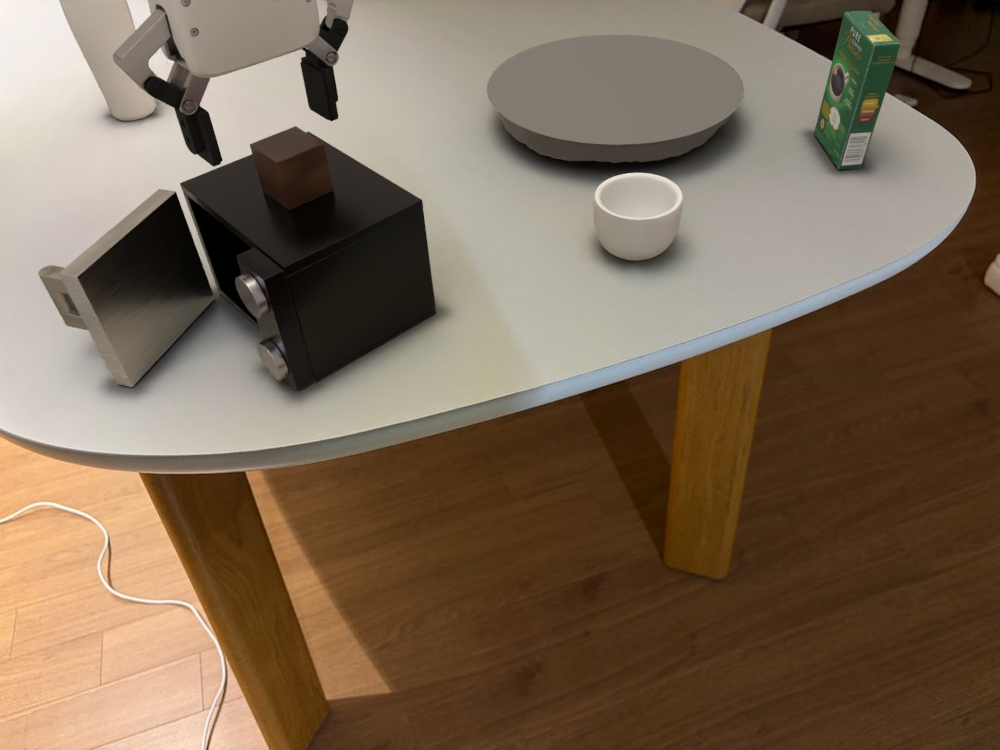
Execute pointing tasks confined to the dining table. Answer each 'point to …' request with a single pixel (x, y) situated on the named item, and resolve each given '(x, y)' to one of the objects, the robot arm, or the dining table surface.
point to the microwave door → (134, 287)
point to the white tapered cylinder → (108, 53)
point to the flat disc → (614, 97)
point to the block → (292, 167)
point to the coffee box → (855, 88)
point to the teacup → (637, 214)
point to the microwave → (315, 263)
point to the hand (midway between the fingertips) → (268, 135)
